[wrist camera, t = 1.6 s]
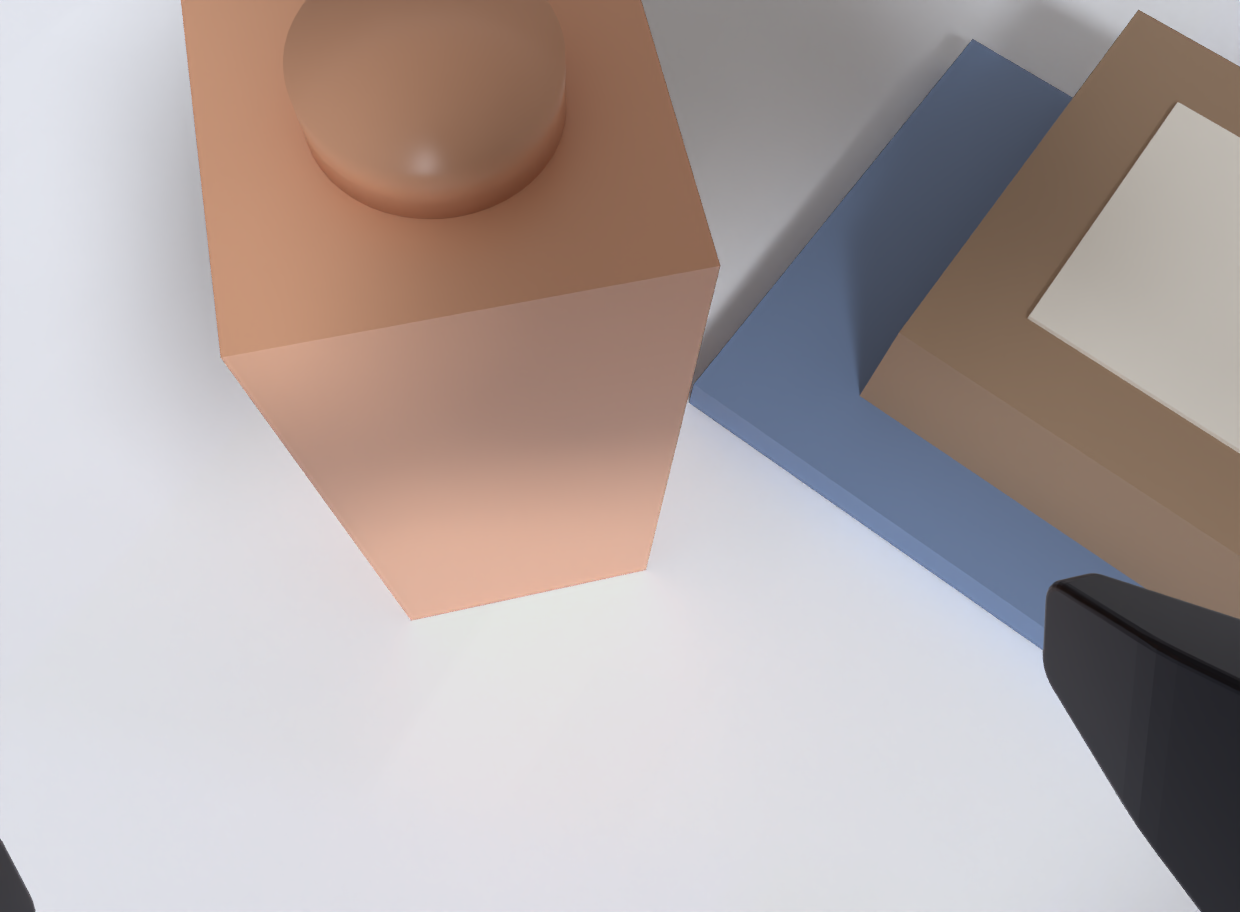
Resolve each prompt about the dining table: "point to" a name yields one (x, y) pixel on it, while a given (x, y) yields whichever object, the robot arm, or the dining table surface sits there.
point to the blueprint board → (864, 317)
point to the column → (457, 274)
